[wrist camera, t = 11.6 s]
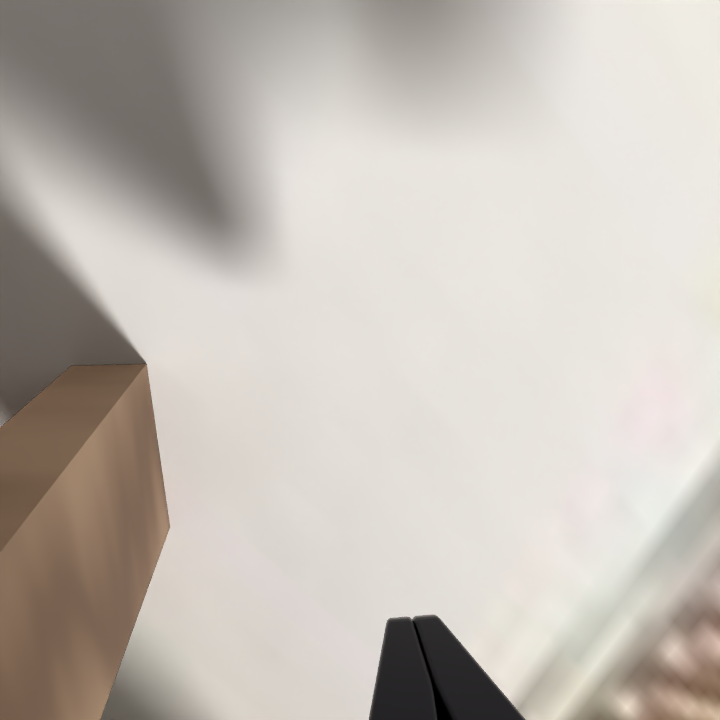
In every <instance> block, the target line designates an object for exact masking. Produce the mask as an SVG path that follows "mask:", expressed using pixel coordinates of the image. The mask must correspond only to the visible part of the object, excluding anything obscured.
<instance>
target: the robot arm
mask: <svg viewBox="0 0 720 720" xmlns="http://www.w3.org/2000/svg"><path fill="white" fill-rule="evenodd" d="M369 720H525V718H524V717H523V716H522V715H521V714H520V713H519V711H518V710H517V709H516V708H515V707H514V705H513V704H512V703H511V702H510V701H509V700H508V698H507V697H506V696H505V695H504V694H503V692H502V691H501V690H500V689H499V688H498V687H497V685H496V684H495V683H494V682H493V681H492V680H491V678H490V677H489V676H488V675H487V674H486V672H485V671H484V670H483V669H482V668H481V667H480V665H479V664H478V663H477V662H476V661H475V659H474V658H473V657H472V656H471V655H470V654H469V652H468V651H467V650H466V649H465V648H464V646H463V645H462V644H461V643H460V642H459V641H458V639H457V638H456V637H455V636H454V635H453V634H452V632H451V631H450V630H449V629H448V628H447V626H446V625H445V624H444V623H443V622H442V621H441V619H440V618H439V617H438V616H436V615H423V616H415V617H414V618H413V619H411V618H410V617H398V618H390V619H388V620H387V623H386V628H385V634H384V639H383V645H382V650H381V656H380V661H379V667H378V672H377V677H376V683H375V688H374V694H373V699H372V705H371V710H370V716H369Z"/></svg>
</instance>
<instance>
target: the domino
mask: <svg viewBox="0 0 720 720" xmlns="http://www.w3.org/2000/svg"><path fill="white" fill-rule="evenodd" d="M169 528H170V524H169V517H168V510H167V503H166V496H165V489H164V482H163V475H162V468H161V461H160V454H159V447H158V440H157V433H156V427H155V420H154V413H153V406H152V399H151V392H150V385H149V378H148V371H147V364H124V365H85V366H70V367H69V368H68V369H67V370H66V371H65V372H63V373H62V374H61V375H60V376H59V377H58V378H57V379H55V380H54V381H53V382H52V383H51V384H50V385H49V386H47V387H46V388H45V389H44V390H43V391H42V392H41V393H39V394H38V395H37V396H36V397H35V398H34V399H33V400H31V401H30V402H29V403H28V404H27V405H26V406H25V407H23V408H22V409H21V410H20V411H19V412H18V413H17V414H15V415H14V416H13V417H12V418H11V419H10V420H9V421H7V422H6V423H5V424H4V425H3V426H2V427H1V428H0V720H100V719H101V716H102V714H103V711H104V708H105V705H106V703H107V700H108V697H109V694H110V692H111V689H112V686H113V683H114V680H115V678H116V675H117V672H118V669H119V667H120V664H121V661H122V658H123V656H124V653H125V650H126V647H127V645H128V642H129V639H130V636H131V633H132V631H133V628H134V625H135V622H136V620H137V617H138V614H139V611H140V609H141V606H142V603H143V600H144V597H145V595H146V592H147V589H148V586H149V584H150V581H151V578H152V575H153V573H154V570H155V567H156V564H157V562H158V559H159V556H160V553H161V550H162V548H163V545H164V542H165V539H166V537H167V534H168V531H169Z"/></svg>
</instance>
